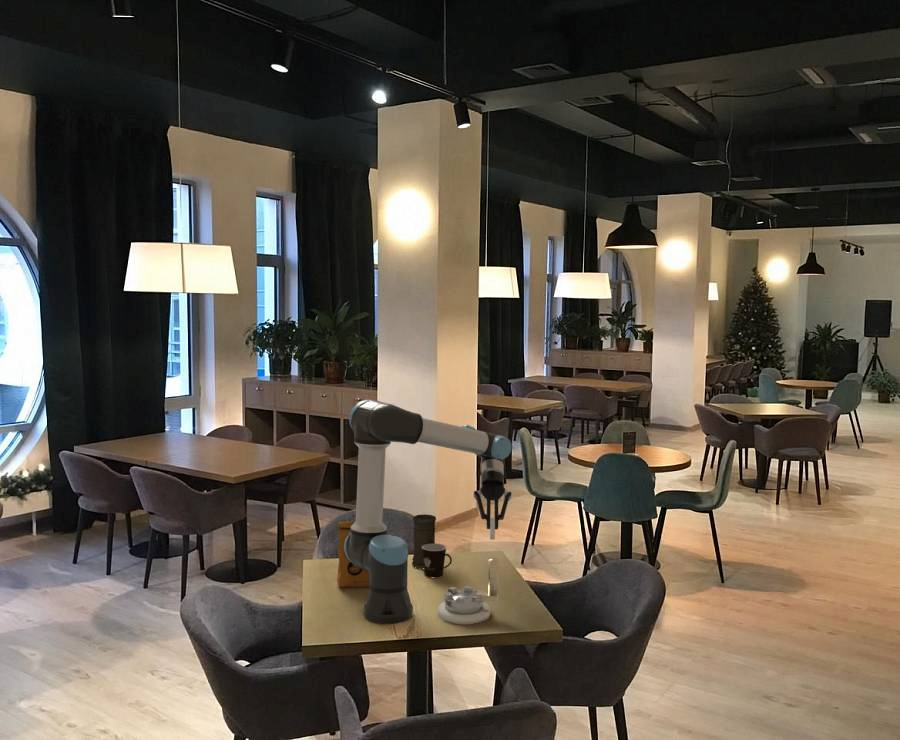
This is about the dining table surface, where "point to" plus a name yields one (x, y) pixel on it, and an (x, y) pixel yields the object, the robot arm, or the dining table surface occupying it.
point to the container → (422, 536)
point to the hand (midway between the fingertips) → (492, 537)
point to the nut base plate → (463, 618)
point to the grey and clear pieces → (473, 594)
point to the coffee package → (349, 563)
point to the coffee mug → (434, 559)
